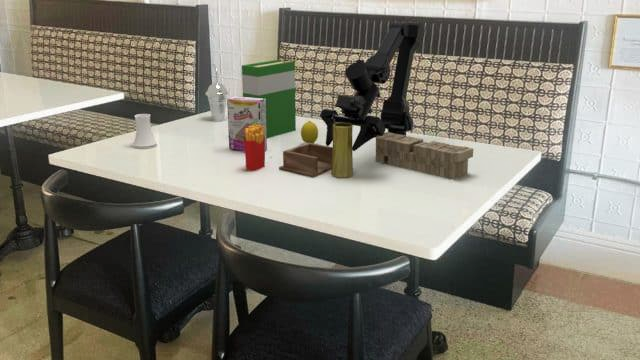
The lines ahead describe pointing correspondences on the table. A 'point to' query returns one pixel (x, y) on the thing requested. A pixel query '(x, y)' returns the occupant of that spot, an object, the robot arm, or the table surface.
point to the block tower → (423, 155)
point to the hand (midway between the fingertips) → (339, 147)
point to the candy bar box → (244, 119)
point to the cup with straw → (217, 99)
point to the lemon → (309, 132)
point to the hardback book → (273, 93)
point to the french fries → (254, 147)
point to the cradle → (308, 160)
